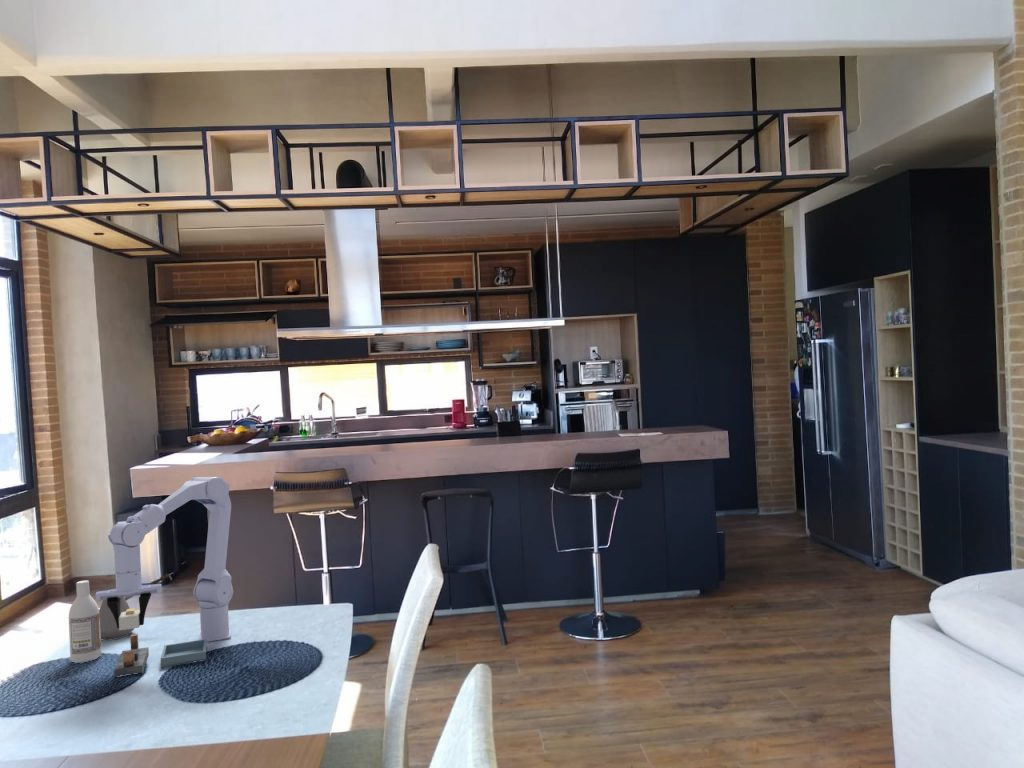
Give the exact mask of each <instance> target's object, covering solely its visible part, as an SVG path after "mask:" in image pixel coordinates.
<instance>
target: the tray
mask: <svg viewBox="0 0 1024 768" xmlns="http://www.w3.org/2000/svg"><path fill="white" fill-rule="evenodd" d="M206 653H207V654H208V642H207V639H204V640H199V639H197V640H191V641H185V642H178V643H171V644H164V645H163V649H162V652H161V656H160V668H161V669H167V668H171V667H177V666H176V665H179V666H181V665H180V664H184V663H189V662H194V661H200V660H205V659H206V660H207V655H206Z"/></svg>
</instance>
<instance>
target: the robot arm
mask: <svg viewBox="0 0 1024 768" xmlns="http://www.w3.org/2000/svg"><path fill="white" fill-rule="evenodd" d="M229 493H230V484H229V483H228V482H227V481H226V480H225V479H224V478H222V477H220V476H214V477H213V476H211V477H209V476H208V477H207V476H206V477H205V476H202V477H201V476H195V477H191V478H190V480H187V481H184V483H183V485H182V486H180V487H179V488H178V489H177V490H176V491H174V492H172V493H171V494H170V495H169V496H168V497H166V498H165V499H163V500H162V501H160V503H158V504H154V503H151V504H145V505H143V506H142V508H141V510H140V511H138V512H137V513H135V514H134V515H130V516H128V517H127V518H126V521H124V522H122V521H121V522H117V523H116V524H114V526H112V528H111V529H110V533H109V534H108V535H107V537H108V538H107V539H108V541H109V542H110V544H111V545H112V547H113V551H114V552H113V553H114V554H113V555H114V572H115V588H116V589H113V588H110V589H111V590H107V589H105V590H106V591H104V590H100V591H96V593H95V601H96V602H100V601H103V600H106V599H107V605H108V607H109V608H110V610H111V612H112V614H113V616H114V618H115V621H116V624H117V628H119V617H120V615H121V613H120V598H121V597H124V598H125V597H129V596H133V597H135V596H139V597H138V604H139V610H140V626H143V625H144V624H145V615H146V611H147V609H148V608H147V607H148V604H149V601H150V599H151V597H152V595H153V594H161V593H162V589H163V588H162V584H161V583H157V584H155V585H148V584H142V583H143V581H142V565H141V545H140V544H142V542H143V541H144V539H145V537H146V535H148V534H149V533H151V532H152V531H153V530H155V529H156V528H158V527H159V526H161V525H162V524H163V523H165V521H166V516H167V515H168V514H170V513H172V512H174V511H175V510H176V509H178V508H180V507H181V506H184V505H185V504H186V503H188V502H189V501H191V500H193V501H196V502H198V503H201V504H202V505H203V506H204V507H205V508H206V509H207V510H208V511H209V517H208V526H207V538H206V545H205V546H206V547H205V548H206V549H205V558H204V566H203V567H204V568H203V569H202V570H201V571H200V572H199V574H198V575H197V580H196V583H195V585H194V587H193V591H192V593H193V598H194V599H195V600H196V601H197V602H198V606H199V615H200V616H199V619H200V620H199V621H200V622H199V623H200V632H199V639H198V640H204V639H207V643H208V642H216V641H221V640H228V639H231V638H232V628H231V627H230V621H229V620H230V619H229V605H230V601H231V599H232V598H233V596H234V587H233V585H232V575H231V574H230V573H229V572H228V570H227V569H226V567H227V566H226V565H227V558H228V557H227V556H228V546H229V533H230V523H231V513H232V502H231V498H230V495H229Z"/></svg>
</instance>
